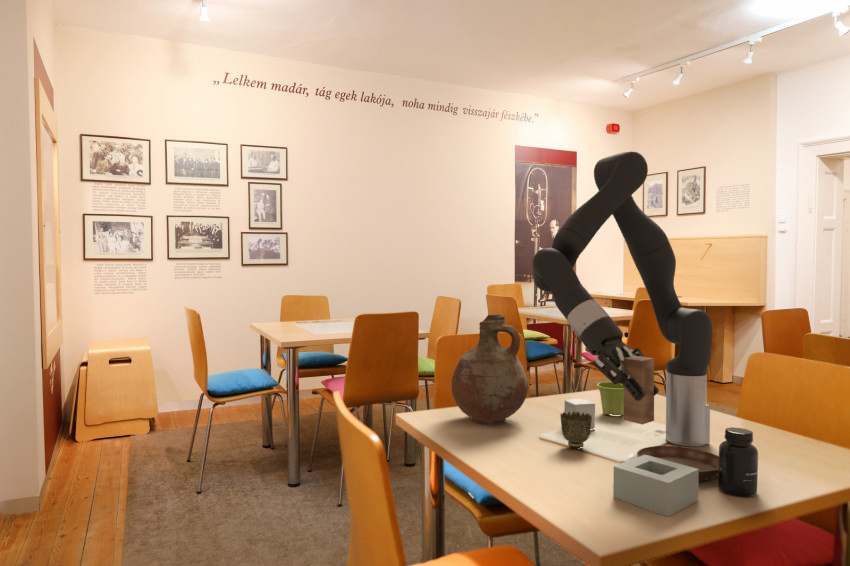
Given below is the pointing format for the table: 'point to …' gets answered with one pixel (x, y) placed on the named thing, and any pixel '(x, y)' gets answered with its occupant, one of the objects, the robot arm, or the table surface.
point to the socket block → (656, 484)
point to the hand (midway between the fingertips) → (648, 395)
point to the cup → (575, 428)
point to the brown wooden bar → (645, 378)
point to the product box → (581, 408)
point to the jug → (490, 376)
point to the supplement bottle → (738, 463)
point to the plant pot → (612, 398)
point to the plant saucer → (686, 458)
